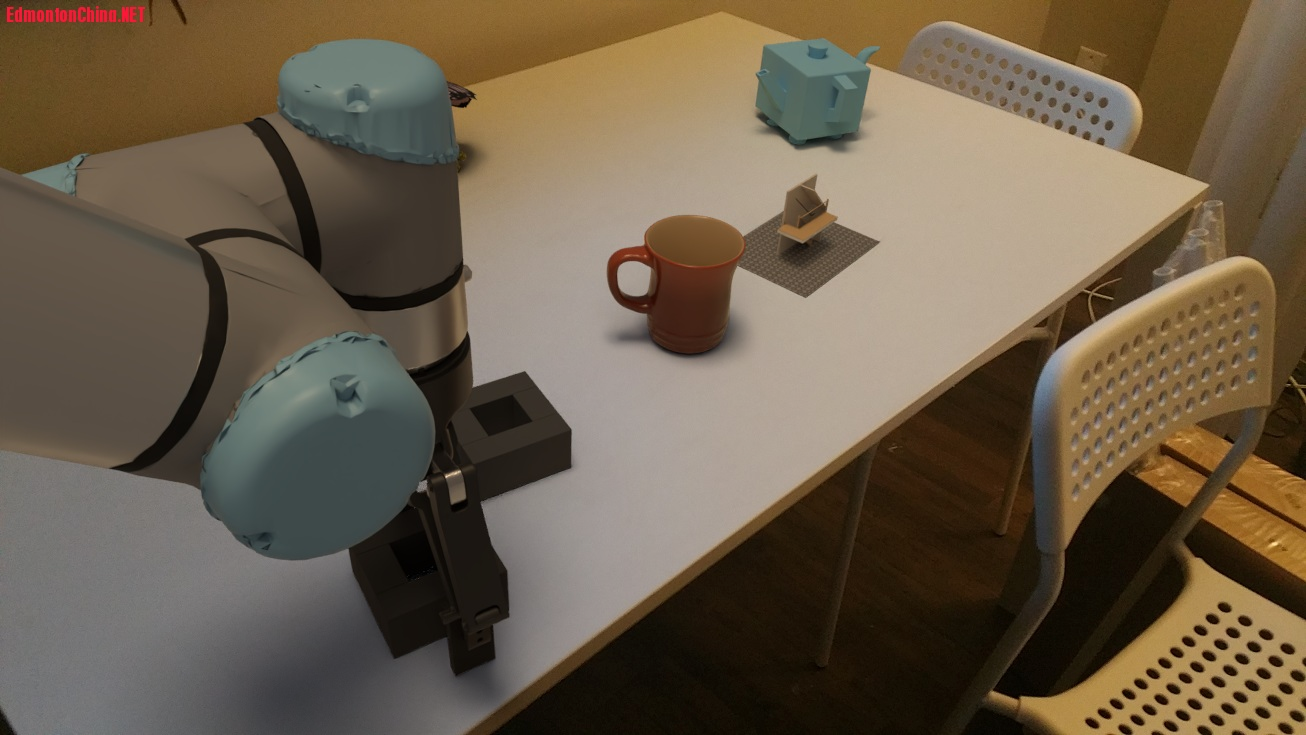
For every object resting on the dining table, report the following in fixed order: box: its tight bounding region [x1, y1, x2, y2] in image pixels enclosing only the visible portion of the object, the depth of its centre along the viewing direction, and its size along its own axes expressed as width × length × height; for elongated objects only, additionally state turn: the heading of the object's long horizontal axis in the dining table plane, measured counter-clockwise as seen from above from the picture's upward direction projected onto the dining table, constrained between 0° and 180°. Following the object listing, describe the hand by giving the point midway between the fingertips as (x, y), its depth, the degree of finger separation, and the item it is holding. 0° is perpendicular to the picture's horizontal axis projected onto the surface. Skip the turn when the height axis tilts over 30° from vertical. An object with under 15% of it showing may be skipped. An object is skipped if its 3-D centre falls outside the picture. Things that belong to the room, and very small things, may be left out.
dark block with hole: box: [348, 507, 510, 659], centre depth 65 cm, size 8×8×4 cm
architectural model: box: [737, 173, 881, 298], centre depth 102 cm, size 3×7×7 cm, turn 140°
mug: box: [606, 214, 746, 355], centre depth 88 cm, size 12×9×10 cm
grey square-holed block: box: [451, 370, 573, 502], centre depth 76 cm, size 8×8×4 cm
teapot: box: [754, 37, 881, 145], centre depth 125 cm, size 16×18×11 cm
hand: (432, 588), depth 67 cm, fingers open, 13 cm apart
